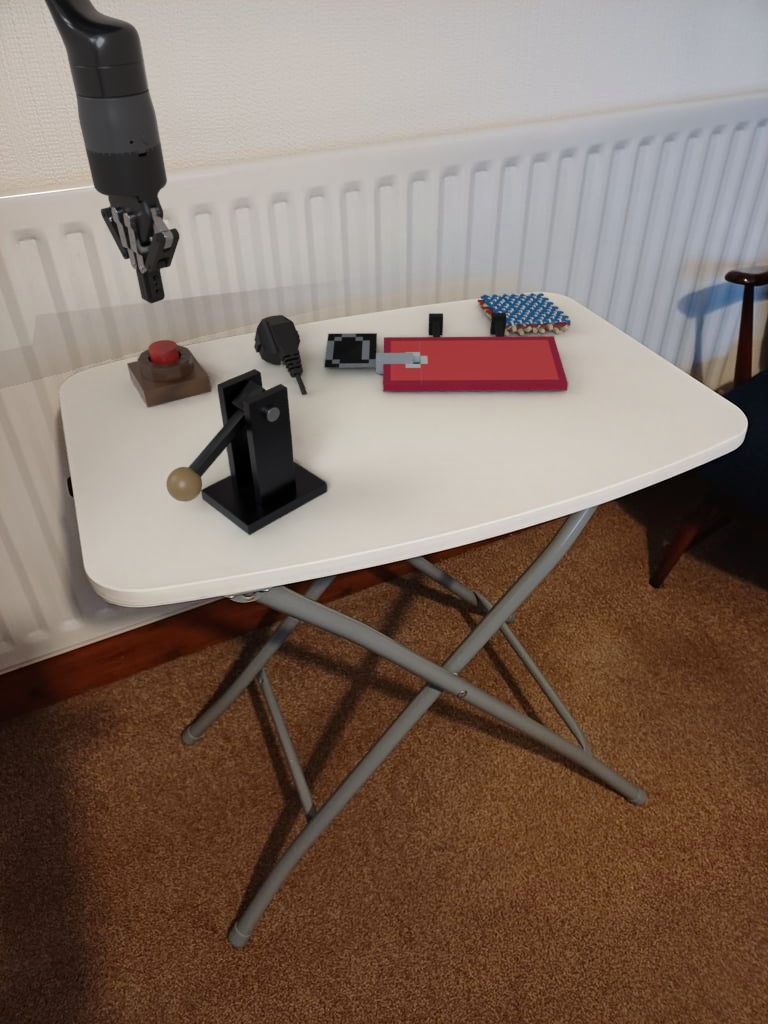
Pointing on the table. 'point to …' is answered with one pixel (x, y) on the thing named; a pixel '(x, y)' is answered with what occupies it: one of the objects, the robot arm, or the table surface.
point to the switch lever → (210, 451)
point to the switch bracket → (260, 460)
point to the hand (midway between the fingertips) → (154, 299)
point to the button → (163, 352)
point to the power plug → (280, 345)
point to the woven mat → (525, 312)
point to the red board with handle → (454, 360)
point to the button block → (168, 378)
